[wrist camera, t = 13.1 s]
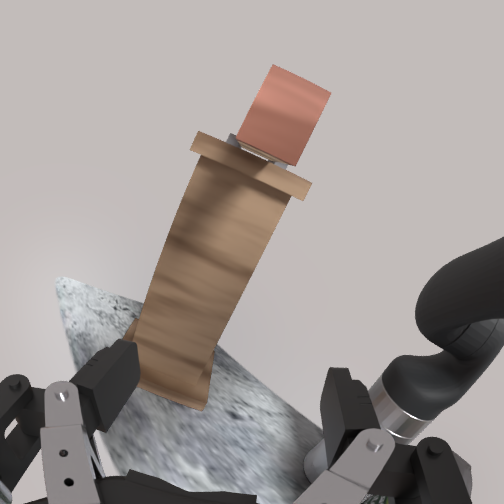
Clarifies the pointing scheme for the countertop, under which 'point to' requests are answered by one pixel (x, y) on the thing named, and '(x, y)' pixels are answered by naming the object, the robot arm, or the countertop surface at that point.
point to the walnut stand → (208, 265)
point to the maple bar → (282, 116)
